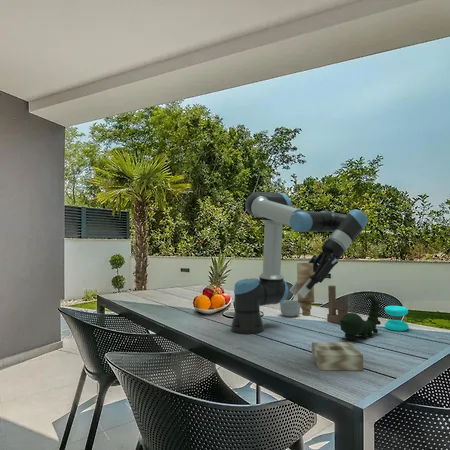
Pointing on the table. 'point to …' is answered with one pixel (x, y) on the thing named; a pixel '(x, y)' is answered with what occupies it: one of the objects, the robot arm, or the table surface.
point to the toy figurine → (362, 321)
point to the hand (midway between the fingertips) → (296, 294)
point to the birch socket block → (337, 356)
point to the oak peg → (302, 277)
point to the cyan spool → (396, 324)
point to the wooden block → (336, 306)
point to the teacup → (290, 308)
